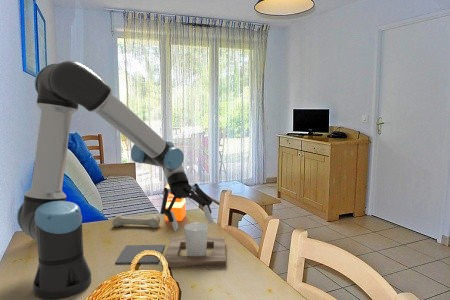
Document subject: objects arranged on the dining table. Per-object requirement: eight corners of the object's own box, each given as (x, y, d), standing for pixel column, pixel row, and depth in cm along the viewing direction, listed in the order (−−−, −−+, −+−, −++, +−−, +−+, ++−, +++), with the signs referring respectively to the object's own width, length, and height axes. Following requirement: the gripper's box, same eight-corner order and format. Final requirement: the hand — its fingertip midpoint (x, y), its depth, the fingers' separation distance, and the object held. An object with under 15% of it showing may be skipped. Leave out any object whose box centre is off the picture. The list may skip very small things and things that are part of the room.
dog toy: (161, 224, 152) (161, 213, 151) (158, 229, 146) (157, 218, 145) (116, 223, 154) (116, 212, 153) (111, 228, 148) (110, 217, 147)
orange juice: (185, 214, 165) (185, 172, 162) (181, 220, 156) (180, 176, 153) (169, 214, 166) (168, 172, 163) (164, 220, 157) (163, 176, 154)
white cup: (182, 251, 123) (181, 224, 122) (202, 247, 127) (202, 221, 125) (189, 260, 116) (188, 231, 115) (211, 256, 119) (211, 228, 118)
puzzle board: (225, 266, 112) (225, 260, 111) (163, 267, 111) (162, 261, 111) (224, 242, 131) (224, 237, 131) (171, 243, 131) (171, 237, 131)
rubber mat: (158, 263, 114) (158, 261, 114) (115, 264, 114) (115, 262, 114) (164, 246, 128) (164, 244, 128) (126, 246, 128) (126, 245, 128)
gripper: (201, 178, 144) (220, 224, 133) (142, 186, 131) (158, 237, 120) (207, 167, 139) (228, 214, 128) (146, 174, 126) (163, 227, 115)
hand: (194, 225), depth 124 cm, fingers open, 13 cm apart
